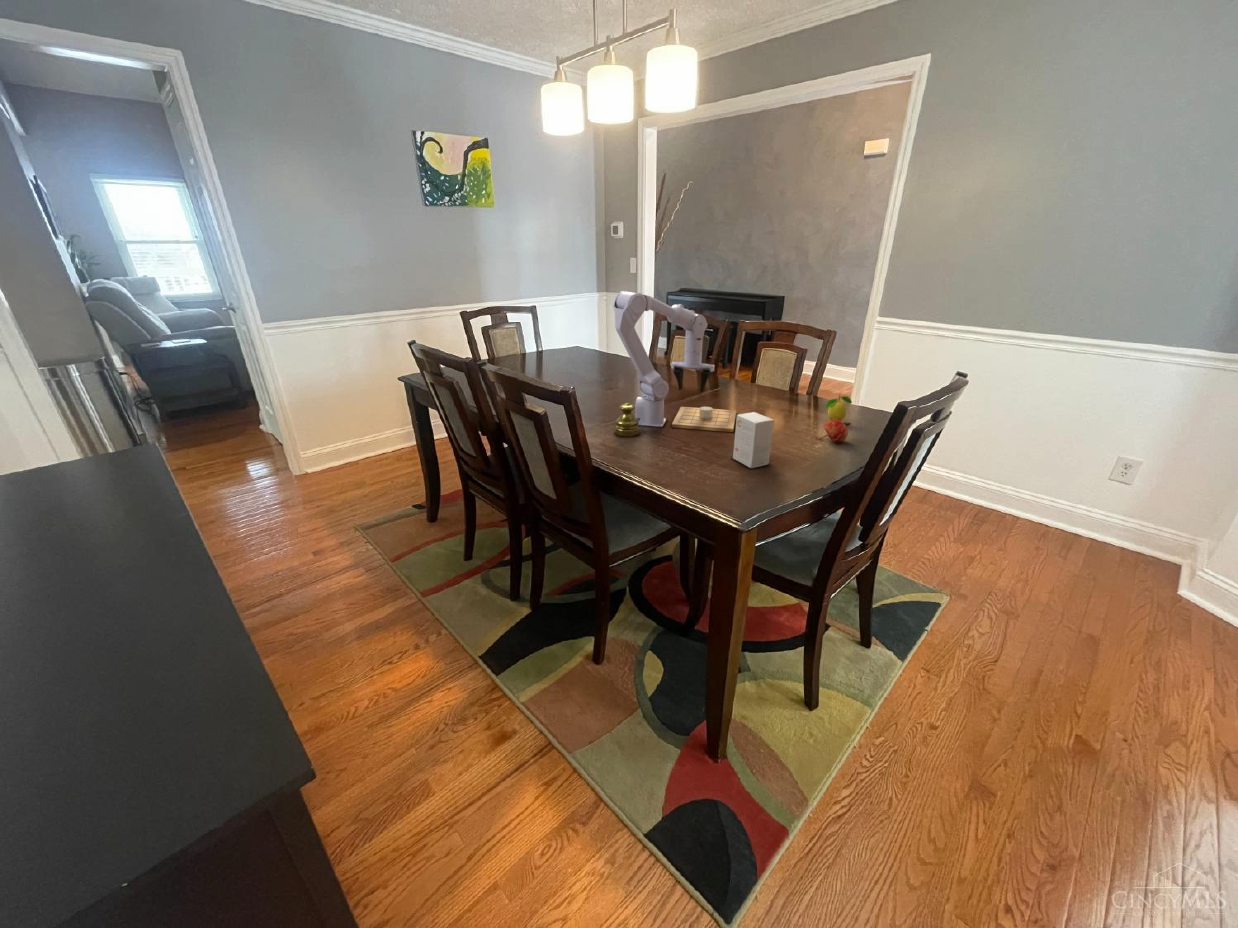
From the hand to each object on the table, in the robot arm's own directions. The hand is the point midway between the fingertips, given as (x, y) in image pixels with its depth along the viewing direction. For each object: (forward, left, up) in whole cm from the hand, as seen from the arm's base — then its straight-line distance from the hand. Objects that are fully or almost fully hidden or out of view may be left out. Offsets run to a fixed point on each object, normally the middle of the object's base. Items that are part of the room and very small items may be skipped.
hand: (691, 390), depth 170 cm
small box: (+22, -36, -10) cm, 43 cm away
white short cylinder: (+6, -3, -8) cm, 10 cm away
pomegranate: (+46, -14, -10) cm, 49 cm away
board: (+6, -3, -9) cm, 11 cm away
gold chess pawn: (-17, -22, -10) cm, 30 cm away
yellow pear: (+49, +5, -10) cm, 50 cm away
